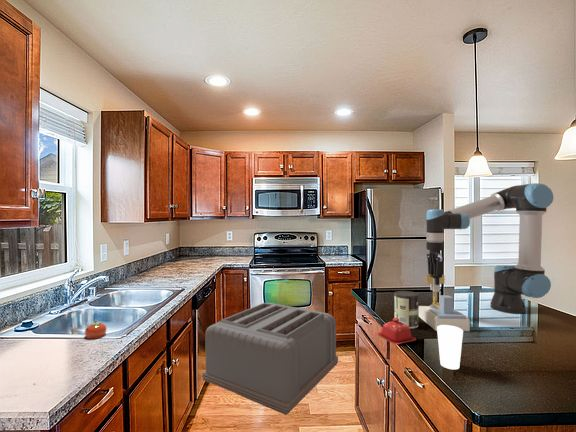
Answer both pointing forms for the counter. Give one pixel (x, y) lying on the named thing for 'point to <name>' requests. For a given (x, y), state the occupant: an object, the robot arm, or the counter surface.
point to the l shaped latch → (430, 281)
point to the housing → (435, 321)
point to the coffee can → (406, 308)
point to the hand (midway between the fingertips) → (435, 290)
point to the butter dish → (396, 332)
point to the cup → (450, 345)
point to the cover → (447, 309)
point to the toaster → (271, 353)
